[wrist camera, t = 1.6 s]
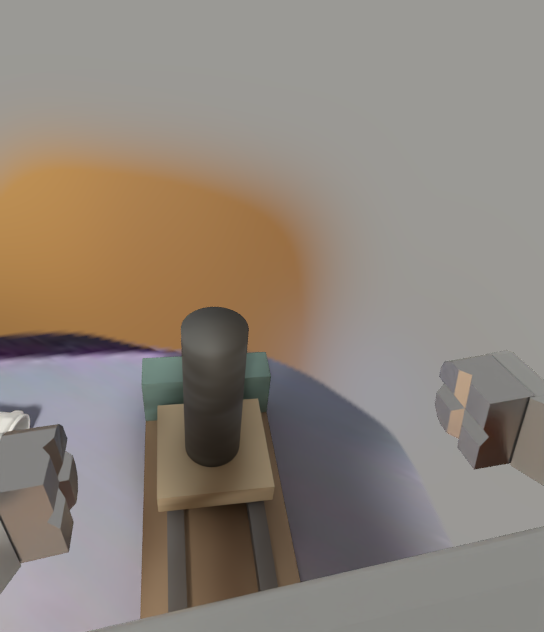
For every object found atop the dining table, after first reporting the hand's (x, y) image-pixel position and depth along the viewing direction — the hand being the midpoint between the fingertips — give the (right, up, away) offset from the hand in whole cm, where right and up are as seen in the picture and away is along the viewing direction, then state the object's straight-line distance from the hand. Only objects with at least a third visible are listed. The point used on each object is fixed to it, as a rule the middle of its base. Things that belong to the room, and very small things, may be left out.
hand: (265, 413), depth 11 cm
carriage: (-4, -7, +23) cm, 24 cm away
